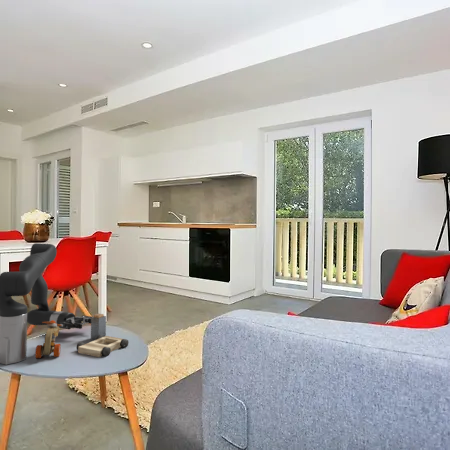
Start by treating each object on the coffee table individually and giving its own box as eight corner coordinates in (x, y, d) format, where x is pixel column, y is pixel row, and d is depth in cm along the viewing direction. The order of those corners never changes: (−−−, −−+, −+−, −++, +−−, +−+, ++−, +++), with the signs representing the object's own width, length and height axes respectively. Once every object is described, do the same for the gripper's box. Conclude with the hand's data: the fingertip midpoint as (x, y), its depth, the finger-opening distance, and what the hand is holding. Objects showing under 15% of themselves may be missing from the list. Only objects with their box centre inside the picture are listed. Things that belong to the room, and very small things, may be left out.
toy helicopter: (34, 361, 132) (34, 324, 132) (45, 343, 152) (45, 311, 152) (58, 359, 135) (58, 323, 135) (65, 342, 154) (66, 310, 154)
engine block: (98, 341, 157) (98, 316, 157) (90, 339, 158) (91, 315, 158) (105, 338, 161) (106, 314, 161) (97, 336, 163) (98, 312, 163)
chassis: (103, 358, 137) (103, 349, 137) (74, 352, 143) (74, 344, 143) (129, 345, 151) (129, 338, 151) (102, 340, 157) (103, 333, 157)
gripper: (50, 315, 162) (76, 319, 155) (74, 308, 175) (100, 312, 168) (49, 331, 162) (76, 336, 155) (74, 324, 175) (99, 328, 168)
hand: (88, 323), depth 162 cm, fingers open, 8 cm apart
